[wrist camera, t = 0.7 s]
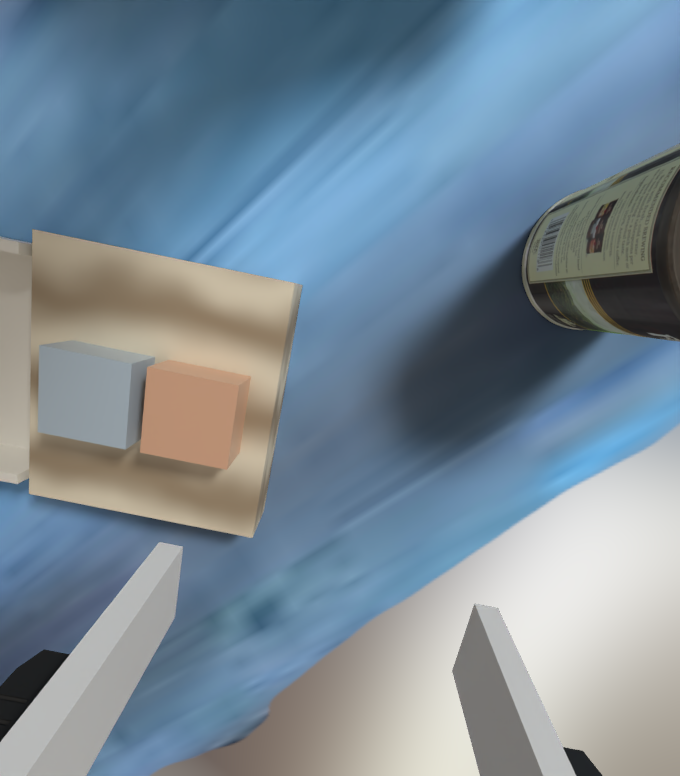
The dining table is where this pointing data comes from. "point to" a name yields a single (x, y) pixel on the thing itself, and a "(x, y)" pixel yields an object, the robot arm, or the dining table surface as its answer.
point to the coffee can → (612, 254)
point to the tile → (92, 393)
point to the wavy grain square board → (164, 342)
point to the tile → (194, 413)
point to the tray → (15, 358)
